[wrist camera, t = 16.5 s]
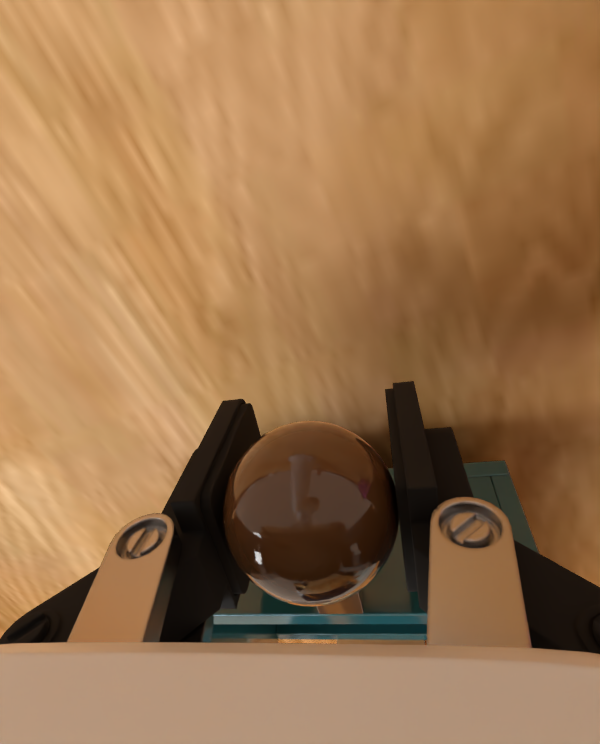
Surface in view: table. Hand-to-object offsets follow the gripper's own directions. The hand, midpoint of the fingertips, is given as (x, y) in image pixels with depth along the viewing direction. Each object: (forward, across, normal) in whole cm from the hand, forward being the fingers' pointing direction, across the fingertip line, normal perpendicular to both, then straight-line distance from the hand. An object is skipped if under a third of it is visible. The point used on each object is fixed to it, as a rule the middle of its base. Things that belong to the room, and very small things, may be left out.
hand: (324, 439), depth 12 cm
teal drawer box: (+3, 0, +5) cm, 6 cm away
